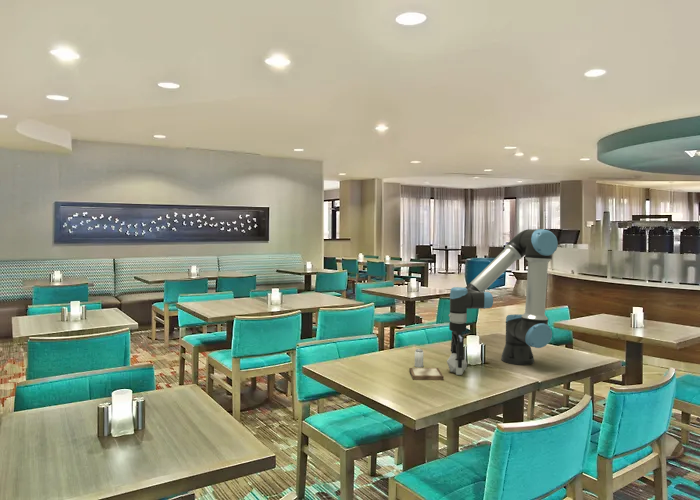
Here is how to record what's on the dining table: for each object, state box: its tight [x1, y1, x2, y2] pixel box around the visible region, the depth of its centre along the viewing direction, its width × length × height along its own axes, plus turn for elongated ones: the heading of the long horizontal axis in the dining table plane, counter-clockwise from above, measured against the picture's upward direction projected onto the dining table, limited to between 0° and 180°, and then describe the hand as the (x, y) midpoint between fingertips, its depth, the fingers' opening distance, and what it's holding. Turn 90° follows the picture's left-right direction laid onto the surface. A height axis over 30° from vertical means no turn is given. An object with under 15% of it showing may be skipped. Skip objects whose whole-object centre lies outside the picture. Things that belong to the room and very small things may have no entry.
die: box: [446, 353, 468, 374], centre depth 227 cm, size 8×9×10 cm
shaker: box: [414, 348, 424, 368], centre depth 236 cm, size 4×4×8 cm
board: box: [408, 367, 444, 381], centre depth 222 cm, size 13×13×2 cm
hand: (456, 371), depth 228 cm, fingers open, 9 cm apart
